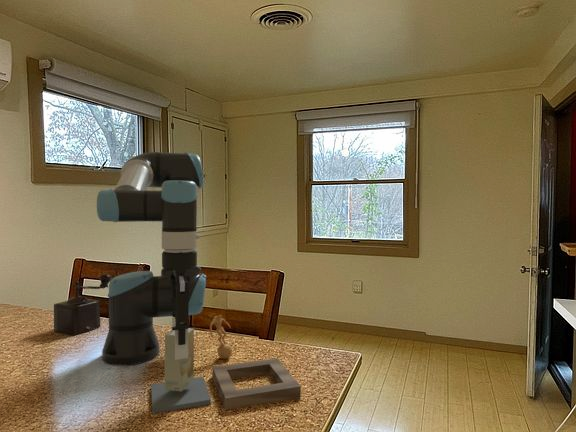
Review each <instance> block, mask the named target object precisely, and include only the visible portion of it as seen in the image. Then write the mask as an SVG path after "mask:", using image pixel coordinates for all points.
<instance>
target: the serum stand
mask: <svg viewBox="0 0 576 432" xmlns="http://www.w3.org/2000/svg"><path fill="white" fill-rule="evenodd" d="M211 372H212V376H211V377H212V379H213V381H214V384H215V387H216V389H217V392H218V394H219V397H220V400H221V402H222V405H223V407H224V409H225V411H228V410H233V409H240V408H245V407H246V408H247V407H252V406H257V405H263V404H268V403H269V404H270V403H275V402H281V401H286V400H292V399H298V398H301V395H302V394H301V392H302V391H301V389H302V386H301V384H300V383H299V382H298V381H297V380H296V379H295V378H294V376H293V375H292V374H291V373H290V371H288V369H287V368H286V366H284V364H283V363H282V362H281V361H280V360H279V359H278V358H277V357H276V358H275V357H274V358H269V359H268V358H267V359H262V360H253V361H246V362H239V363H237V362H236V363H233V364H232V363H231V364H224V365H216V366H212V371H211ZM262 375H263V376H264V375H270V376H271V378H272V380H273V381H274V383H273V384H265V385H260V386H259V385H258V386H253V387H247V388H240V389H237V388H236V386H235V384H234V382H233V380H235V379H236V380H237V379H242V378H248V377H249V378H250V377H257V376H262Z"/></svg>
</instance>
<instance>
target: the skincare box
mask: <svg viewBox="0 0 576 432" xmlns="http://www.w3.org/2000/svg"><path fill="white" fill-rule="evenodd" d="M194 346H195V329H194V328H193V327H189V328H188V358H185V359H177V360H175V330H172V329H171V331H169V332H167V333H166V334H164V382H165V390H173V391H183V390H184V389H185V388H186V387H187V386H188V385H189V384H190V383H191V382H192V381H193V380H194V378H195V377H194V376H195V375H194V373H195V371H194V368H195V365H194V363H195V362H194V361H195V354H194V353H195V351H194V349H195V347H194Z"/></svg>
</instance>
